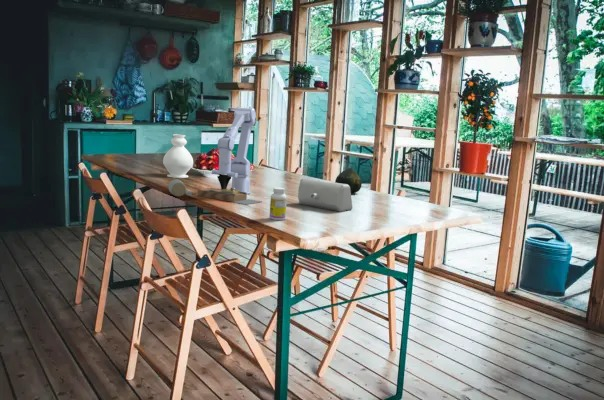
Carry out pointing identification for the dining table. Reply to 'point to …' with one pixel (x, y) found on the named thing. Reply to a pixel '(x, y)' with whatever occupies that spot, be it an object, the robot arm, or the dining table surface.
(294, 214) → the dining table surface
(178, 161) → the decorative vase
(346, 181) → the squash
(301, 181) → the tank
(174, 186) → the ceramic mug
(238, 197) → the body
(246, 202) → the mat
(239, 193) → the lever cap
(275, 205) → the supplement bottle
